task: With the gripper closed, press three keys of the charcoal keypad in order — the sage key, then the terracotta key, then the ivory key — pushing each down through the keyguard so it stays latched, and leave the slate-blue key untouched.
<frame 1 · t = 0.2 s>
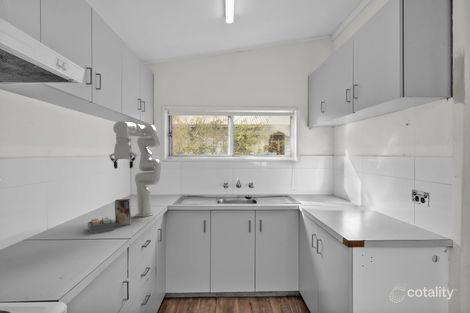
hand: (123, 168, 197), 37 cm above the worktop, tool pointing down, fingers open, 9 cm apart
key terracotta: (95, 223, 186), point 5 cm above the worktop, slide at 0.0 cm
key ivory: (105, 220, 194), point 5 cm above the worktop, slide at 0.0 cm
coffee box: (123, 224, 203), on the worktop
key sage: (106, 222, 189), point 5 cm above the worktop, slide at 0.0 cm
key slate: (94, 222, 191), point 5 cm above the worktop, slide at 0.0 cm
keyguard: (100, 229, 190), on the worktop
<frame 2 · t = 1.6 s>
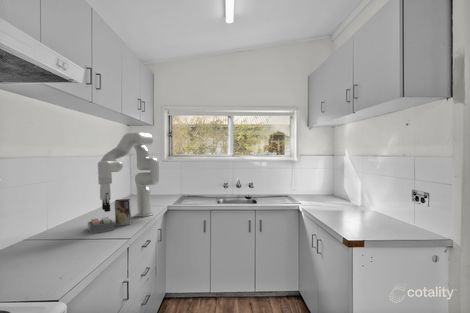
hand: (106, 210, 189), 12 cm above the worktop, tool pointing down, fingers open, 7 cm apart
nothing on the worktop moved.
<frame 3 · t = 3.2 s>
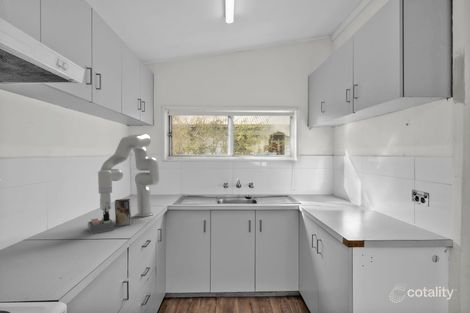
hand: (106, 220, 189), 6 cm above the worktop, tool pointing down, fingers closed
key sage: (106, 223, 189), point 4 cm above the worktop, slide at 0.7 cm, touching gripper
everything else where it was.
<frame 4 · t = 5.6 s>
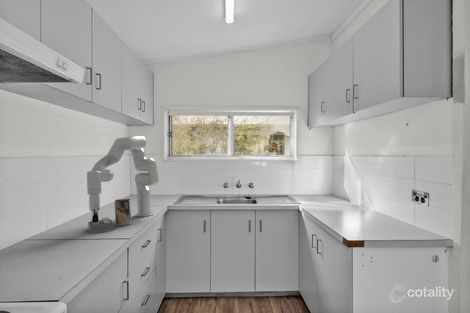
hand: (95, 221, 186), 6 cm above the worktop, tool pointing down, fingers closed
key terracotta: (95, 224, 186), point 4 cm above the worktop, slide at 0.6 cm, touching gripper
key sage: (106, 224, 189), point 3 cm above the worktop, slide at 1.2 cm
everything else where it was.
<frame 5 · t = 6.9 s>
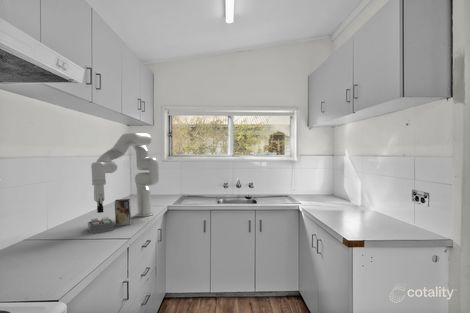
hand: (100, 212, 190), 11 cm above the worktop, tool pointing down, fingers closed
key terracotta: (96, 225, 186), point 3 cm above the worktop, slide at 1.2 cm
everything else where it was.
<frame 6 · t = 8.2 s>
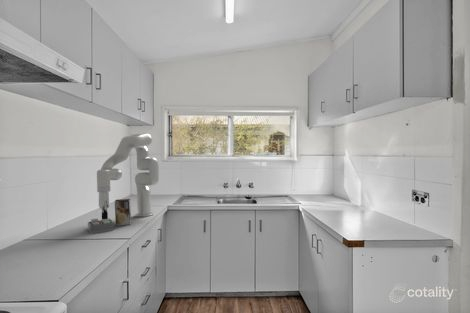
hand: (104, 218, 194), 6 cm above the worktop, tool pointing down, fingers closed
key ivory: (105, 221, 194), point 4 cm above the worktop, slide at 0.6 cm, touching gripper
everything else where it was.
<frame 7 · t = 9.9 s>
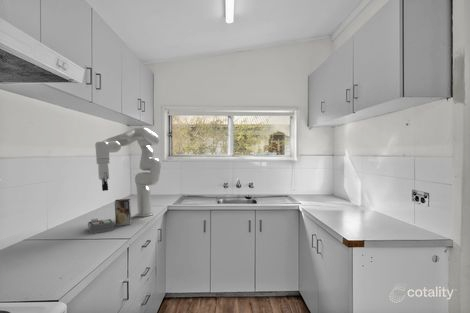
hand: (105, 190, 196), 23 cm above the worktop, tool pointing down, fingers closed
key ivory: (105, 222, 194), point 3 cm above the worktop, slide at 1.2 cm
everything else where it was.
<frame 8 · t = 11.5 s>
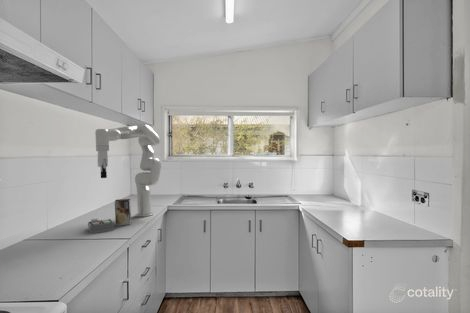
hand: (103, 177, 196), 31 cm above the worktop, tool pointing down, fingers closed
nothing on the worktop moved.
at the end: key sage slide at 1.2 cm; key ivory slide at 1.2 cm; key slate slide at 0.0 cm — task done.
